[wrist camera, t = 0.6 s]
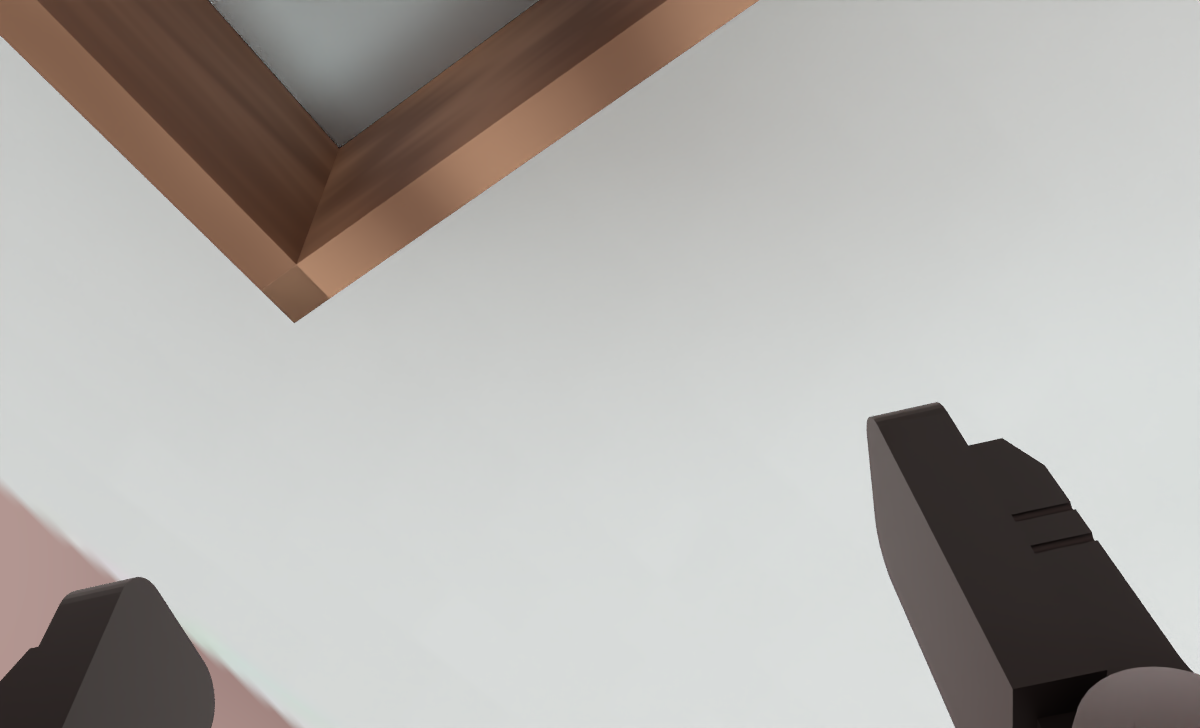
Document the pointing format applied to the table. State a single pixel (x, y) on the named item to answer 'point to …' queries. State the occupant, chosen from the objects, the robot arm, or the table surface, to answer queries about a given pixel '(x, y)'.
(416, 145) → the wooden enclosure
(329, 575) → the table surface
